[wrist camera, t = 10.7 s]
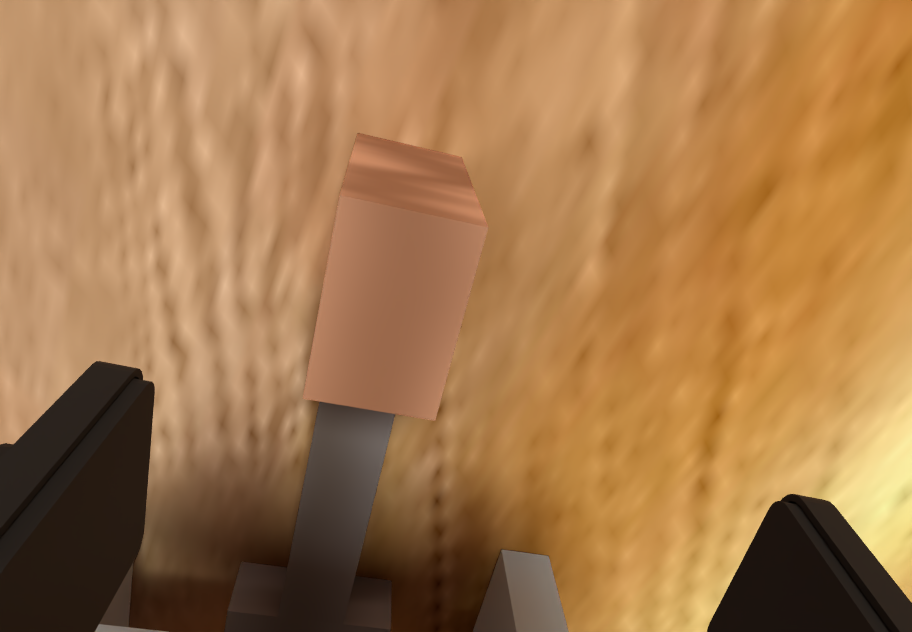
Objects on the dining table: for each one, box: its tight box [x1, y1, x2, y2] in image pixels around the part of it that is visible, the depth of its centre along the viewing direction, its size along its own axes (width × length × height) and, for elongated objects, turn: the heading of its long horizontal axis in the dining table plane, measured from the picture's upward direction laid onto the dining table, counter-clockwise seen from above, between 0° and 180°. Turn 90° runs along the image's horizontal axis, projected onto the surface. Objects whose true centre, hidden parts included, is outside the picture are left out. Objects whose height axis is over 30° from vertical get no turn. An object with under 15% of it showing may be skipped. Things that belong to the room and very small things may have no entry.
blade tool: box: [224, 133, 488, 632], centre depth 21 cm, size 6×18×7 cm, turn 166°
